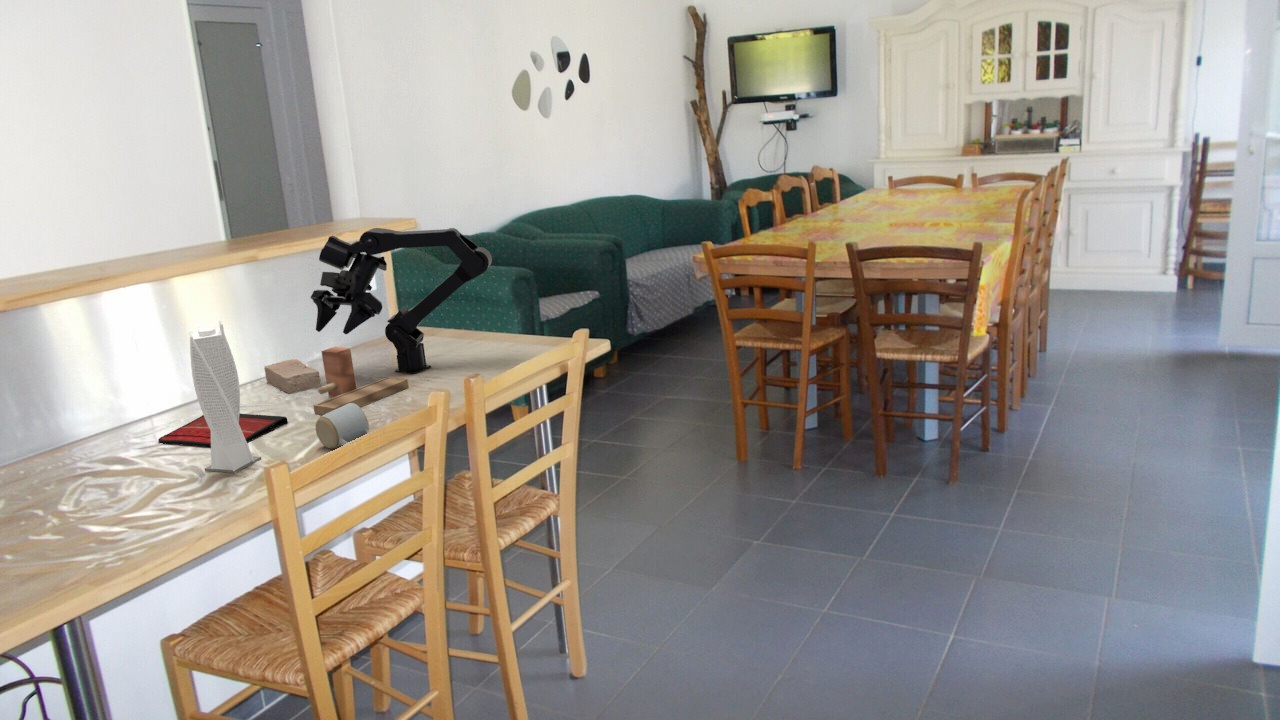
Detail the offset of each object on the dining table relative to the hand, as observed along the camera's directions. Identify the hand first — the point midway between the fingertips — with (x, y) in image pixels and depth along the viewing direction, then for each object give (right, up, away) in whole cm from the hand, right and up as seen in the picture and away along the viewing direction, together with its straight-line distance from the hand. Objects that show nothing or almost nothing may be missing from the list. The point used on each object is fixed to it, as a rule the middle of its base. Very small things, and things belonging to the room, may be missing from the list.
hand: (330, 332), depth 219 cm
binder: (-15, -22, -23) cm, 36 cm away
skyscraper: (-4, -27, -44) cm, 51 cm away
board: (+10, -16, -8) cm, 20 cm away
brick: (-12, -13, +10) cm, 20 cm away
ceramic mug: (+16, -23, -36) cm, 46 cm away
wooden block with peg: (+3, -15, -5) cm, 16 cm away
